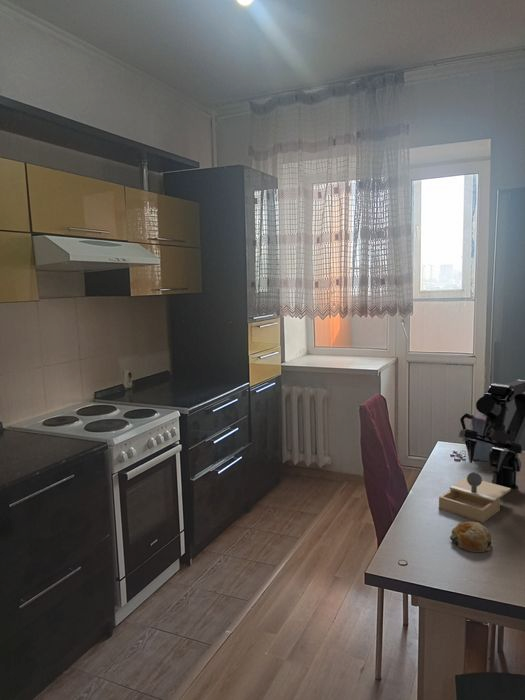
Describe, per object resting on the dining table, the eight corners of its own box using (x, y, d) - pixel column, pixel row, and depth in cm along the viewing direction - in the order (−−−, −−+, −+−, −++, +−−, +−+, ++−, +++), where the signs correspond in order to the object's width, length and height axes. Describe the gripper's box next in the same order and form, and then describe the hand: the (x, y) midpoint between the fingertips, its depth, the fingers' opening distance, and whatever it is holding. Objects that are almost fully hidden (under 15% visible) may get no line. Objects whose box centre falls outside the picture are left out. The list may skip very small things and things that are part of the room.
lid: (467, 478, 176) (468, 458, 175) (510, 490, 166) (511, 469, 165) (449, 489, 168) (449, 469, 167) (493, 502, 157) (494, 480, 156)
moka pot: (503, 463, 201) (505, 413, 199) (461, 461, 204) (463, 412, 202) (497, 454, 211) (499, 407, 208) (457, 453, 214) (458, 406, 211)
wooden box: (456, 497, 172) (457, 485, 171) (499, 510, 161) (500, 498, 161) (438, 508, 164) (439, 496, 163) (482, 523, 153) (482, 510, 153)
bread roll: (479, 568, 137) (494, 546, 134) (443, 544, 141) (457, 522, 138) (485, 551, 145) (500, 529, 142) (451, 528, 149) (465, 507, 146)
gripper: (476, 411, 163) (465, 459, 161) (535, 428, 162) (524, 477, 159) (463, 413, 174) (453, 458, 172) (518, 429, 173) (509, 475, 170)
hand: (484, 467), depth 168 cm, fingers open, 9 cm apart
